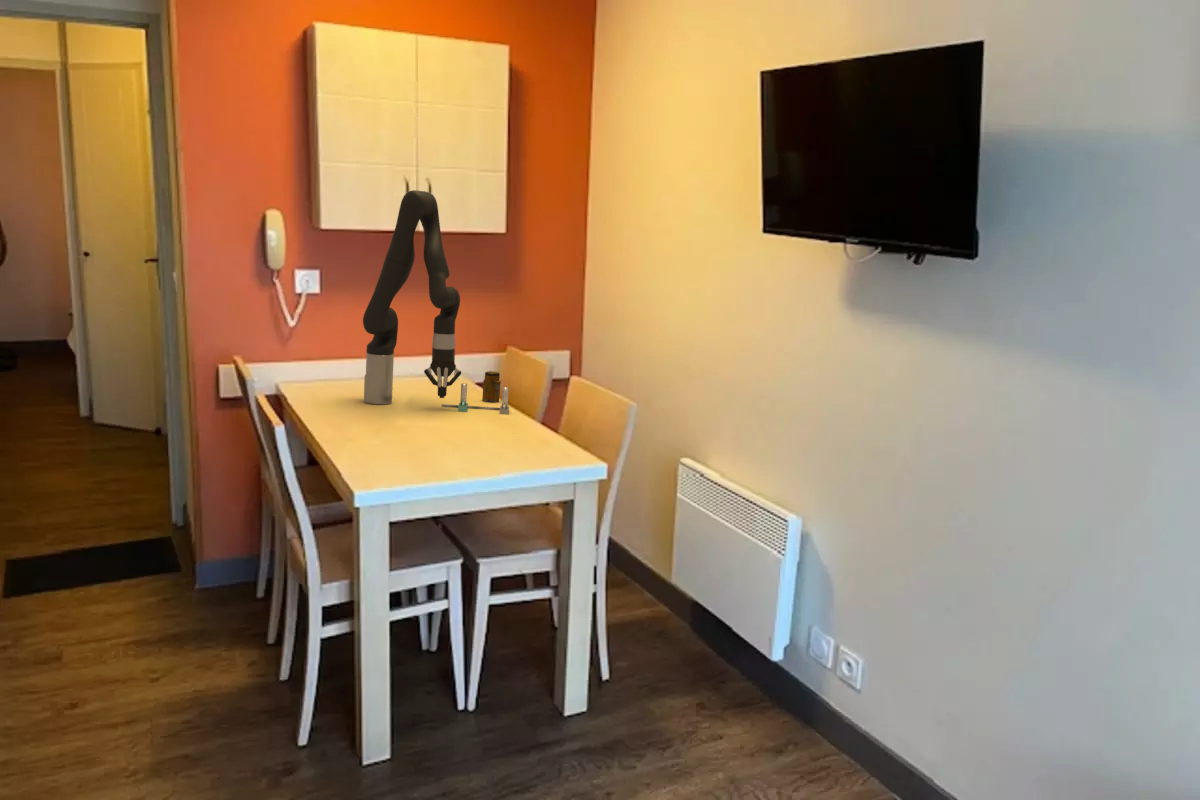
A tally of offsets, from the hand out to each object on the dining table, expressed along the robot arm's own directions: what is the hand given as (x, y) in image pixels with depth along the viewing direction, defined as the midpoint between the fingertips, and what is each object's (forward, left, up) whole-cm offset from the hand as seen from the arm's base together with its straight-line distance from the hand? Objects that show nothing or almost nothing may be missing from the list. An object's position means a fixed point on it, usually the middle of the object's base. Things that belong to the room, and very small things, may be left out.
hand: (442, 397), depth 317 cm
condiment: (+16, +18, -6) cm, 25 cm away
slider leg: (+7, 0, -4) cm, 8 cm away
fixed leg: (+21, 0, -4) cm, 22 cm away
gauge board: (+11, -1, -5) cm, 12 cm away
